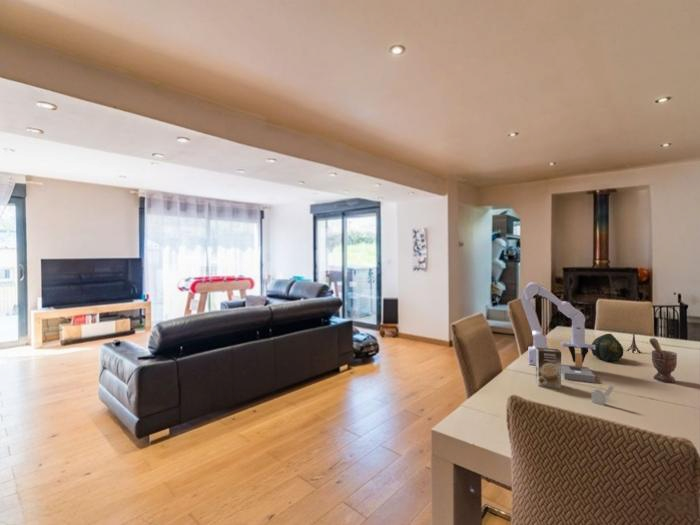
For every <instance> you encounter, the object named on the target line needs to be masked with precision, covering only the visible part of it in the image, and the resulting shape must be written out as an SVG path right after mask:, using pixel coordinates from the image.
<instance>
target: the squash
mask: <svg viewBox="0 0 700 525" xmlns="http://www.w3.org/2000/svg"><path fill="white" fill-rule="evenodd" d="M591 345H595V350H594V349H590V350H591V351H590V352H591V353H592V355H593V356H595V357H596V358H599V359H602V360H603V361H604V362H607V361H609V362H613V361H617V360H620V359H622V357H623V356H624V350H623V349H624V347H623V346H622V344H621V342H620V341H619V340H618V339H617V338H616V337H615V336H614V335H613V334H612V333H604V334H602V335H600V336H598V337H596V338H594V340H593V341H592V343H591Z"/></svg>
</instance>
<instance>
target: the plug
mask: <svg viewBox="0 0 700 525" xmlns="http://www.w3.org/2000/svg"><path fill="white" fill-rule="evenodd" d="M573 366H582V367H583V363H582V354H581V352H575V362H573Z"/></svg>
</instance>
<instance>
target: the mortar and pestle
mask: <svg viewBox="0 0 700 525" xmlns="http://www.w3.org/2000/svg"><path fill="white" fill-rule="evenodd" d="M649 343H650V345H651V346H652V348H653V349H654V350H651V362H652V365H653V368H654V369H656V371H657V373H656V374H654V376H653V379H654V380H656V381H658V382H662V383H670V384H671V383H673V384H674V383H676V379H675V377H674V376H673V375H672V373H673V372H674V371H675V369H677V368H676V367H677V364H678V363H677V361H678V360H677V359H678V358H677V357H678V353H677V352H675V351H670V350H666V349H665V350H664V349H662V348H661V345H660V343H659V341H658V339H657V338H654V337H651V338H650V339H649Z"/></svg>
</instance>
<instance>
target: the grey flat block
mask: <svg viewBox="0 0 700 525" xmlns="http://www.w3.org/2000/svg"><path fill="white" fill-rule="evenodd" d="M595 375H596V374H594V373H593V372H592V370H591V369H590V367H589V366H583V365H582V366H575V365H572V364H571V365H570V364H562V363H561V376H562V377H563V379H564V380H567V379H569V380H568V381H576V380H579V381H578V382H585V381H586V383H594V382H595V383H596V376H595Z"/></svg>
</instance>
